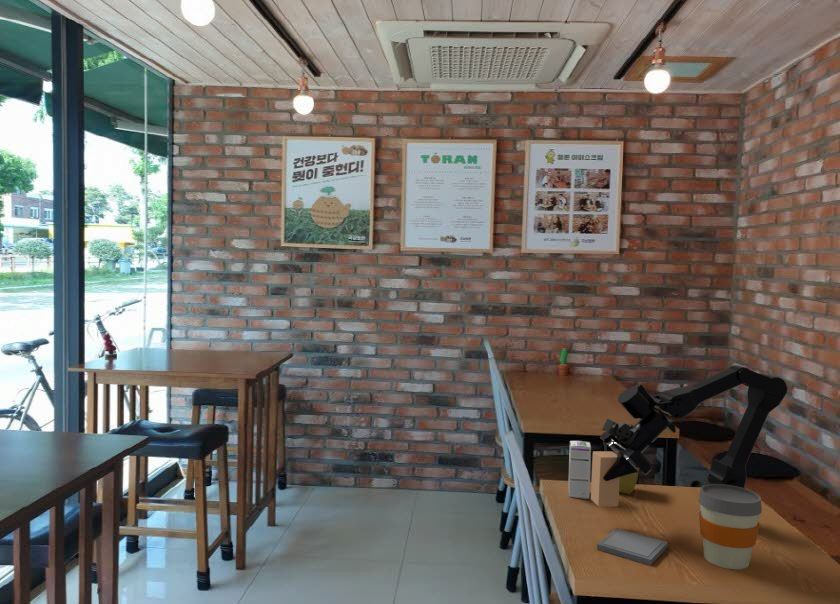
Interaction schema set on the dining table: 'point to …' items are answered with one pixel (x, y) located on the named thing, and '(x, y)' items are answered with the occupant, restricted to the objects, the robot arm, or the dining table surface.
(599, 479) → the block
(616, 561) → the dining table surface
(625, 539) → the plate
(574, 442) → the syrup box
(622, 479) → the flower pot
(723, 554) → the reusable coffee cup
